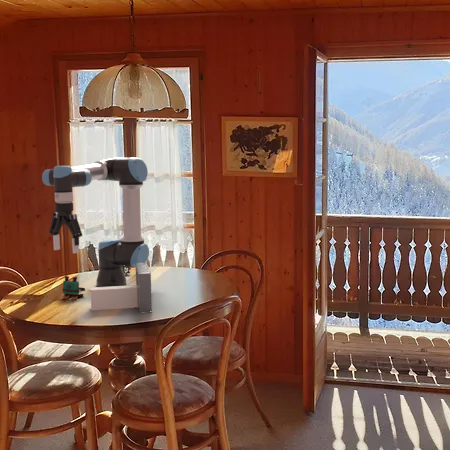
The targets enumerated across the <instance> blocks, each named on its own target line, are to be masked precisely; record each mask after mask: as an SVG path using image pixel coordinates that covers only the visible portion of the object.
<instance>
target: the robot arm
mask: <svg viewBox="0 0 450 450" xmlns="http://www.w3.org/2000/svg"><path fill="white" fill-rule="evenodd" d="M148 174H149V173H148V166H147V164H146V163H145V161H144V160H143V159H141V158H140V157H113V158H112V157H111V158H107V159H102V160H97V161H95V162H94V163H91V164H84V165H77V166H71V165H55V166H54V167H53V168H50V169H45V170H44V171H43V173H42V174H41V175H42V176H41V177H42V178H41V179H42V183H43V184H44V185H45V186H49V187H53V188H54V190H53V191H54V202H55V204H54V210H55V212H53V213H52V219H51V222H50V223H51V224H50V227H49V234H51V235H52V242H53V251H59V250H61V241H60V231H61V229H62V227H63V225H65V226H66V227H67V228H68V229H69V232H70V233H71V235H72V237H71V243H72V244H71V245H72V254H79V253H80V238H81V237H83V233H82V230H81V227H80V224H79V221H78V214H76V213H73V214H72V212H73V211H74V203H73V201H74V192H73V189H74V188H77V187H86V186H88V185H90V184H91V182H92V181H93V180H97V181H100V182H101V181H112V182H118V184H119V185H118V186H119V187H120V188H121V189H122V219H123V220H122V223H123V224H122V225H123V228H122V229H123V233H122V234H123V237H122V238H113V239H106V240H101V241H99V242H98V250H97V251H98V267H99V268H98V269H99V270H98V273H97V277H96V282H95V283H96V284H95V285H96V286H97V287H111V286H126V284H127V278H126V277H125V276H126V275H125V274H124V272H123V269H122V266H129V267H132V268H136V263H147V261H148V259H149V256H150V248H149V245H147V244H146V243H145V239H144V237H142V229H141V228H142V227H141V225H142V224H141V223H142V222H141V221H142V220H141V188H142V187H143V185H144V183H143V182H145V181H146V180H147V178H148Z"/></svg>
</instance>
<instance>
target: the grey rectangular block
mask: <svg viewBox="0 0 450 450" xmlns="http://www.w3.org/2000/svg"><path fill="white" fill-rule="evenodd" d="M89 289H90V292H89V293H90V310H91V311H103V310H106V311H107V310H117V309H119V310H121V309H133V308H134V307H137V308H139V297H138V285H136V284H133V285H123V286H111V287H99V286H97V287H96V286H95V287H90V288H89Z"/></svg>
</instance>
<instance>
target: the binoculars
mask: <svg viewBox="0 0 450 450" xmlns="http://www.w3.org/2000/svg"><path fill="white" fill-rule="evenodd" d="M71 278H72V281H71V280H70V276H68V275H64V280H63V281H62V294H63V297H62V298H63V300H64V299H66V300H67V299H70V298H71V300H73V301H74V300H77V299H78V298H81V297H84V293H81V292H85V291H86V288H85V287H80V282H79V281H77V279H78V276H75V277H71Z"/></svg>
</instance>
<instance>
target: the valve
mask: <svg viewBox="0 0 450 450" xmlns="http://www.w3.org/2000/svg"><path fill="white" fill-rule="evenodd" d="M122 269H123V272H124V275H125V276H128V274H131V271H130V270H131V269H132V268H131V267H130V266H123V265H122Z"/></svg>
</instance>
